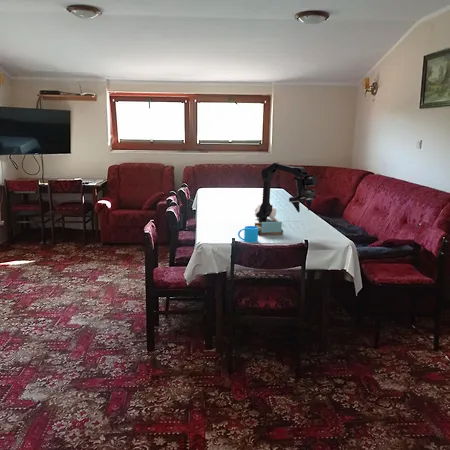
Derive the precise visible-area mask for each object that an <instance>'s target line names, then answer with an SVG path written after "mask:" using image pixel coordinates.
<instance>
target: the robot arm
mask: <svg viewBox="0 0 450 450" xmlns="http://www.w3.org/2000/svg"><path fill="white" fill-rule="evenodd" d="M278 170H279V171H282V172H286V173H289V174H291V175H293V176H294V178H293V179H292V181H295V182H296V184H295V185H296V188H295V191H296V193H297V195H295V196H290V197H289V198H288V202H289V203H290V204H292V205H293V207H294V208H295V210H296V212H297V213H300V209H301V208H300V203H301V201H302V200H305V201H304V202H305V204H306V207H307V210H308V211H310V210H311V207H312V204H313V201H314V200H315V199H317V195H316V190H315V189H311V190H309V189H308V187H311V186H312V187H313V186H317V184H318V179H317V177H316V175H315V174H309V173H308V171H307V169H306V168H305V167H304V166H291V165H287V164H284V163H279V162H274V163H272V164H271V165H269V166H267V167H265V168H262V169H261V171H260V173H261V180H262V182H263V186H262V203H260V205H261V206H260V210H259V212H258V213H257V214H256V216H257V217H259V219H258V223H262V222H268V218H269V216H270V214H271V212H272V207H274V206H273V204H271V202H270V201H271V200H270V199H271V186H272V185H271V184H272V183H271V182H272V180H273V178H274V175H275V173H276V172H277V171H278ZM300 200H301V201H300ZM257 217H256V218H257Z"/></svg>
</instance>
